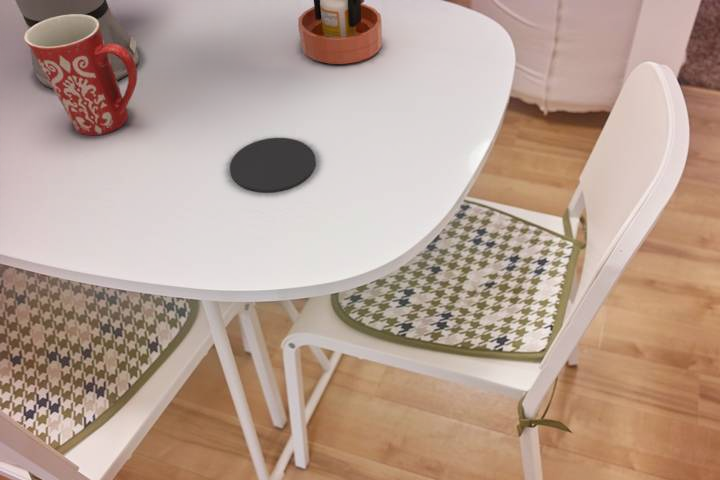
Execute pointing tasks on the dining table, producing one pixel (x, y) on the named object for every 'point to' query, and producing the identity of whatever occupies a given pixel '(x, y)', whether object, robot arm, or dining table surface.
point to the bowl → (345, 47)
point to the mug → (83, 71)
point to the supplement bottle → (336, 19)
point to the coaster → (272, 164)
